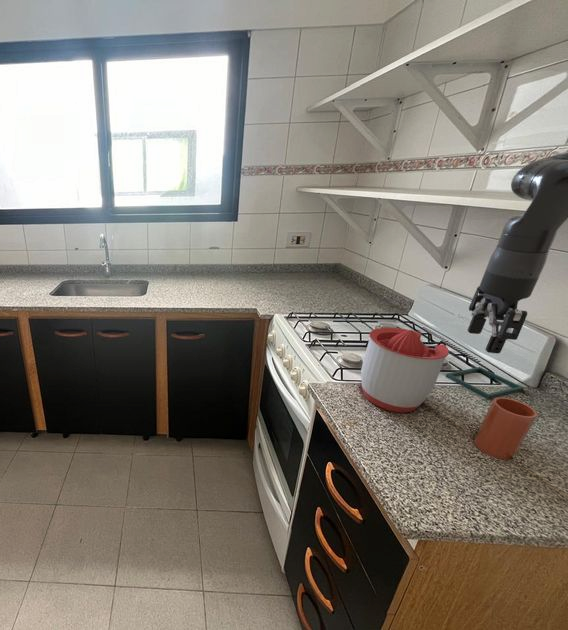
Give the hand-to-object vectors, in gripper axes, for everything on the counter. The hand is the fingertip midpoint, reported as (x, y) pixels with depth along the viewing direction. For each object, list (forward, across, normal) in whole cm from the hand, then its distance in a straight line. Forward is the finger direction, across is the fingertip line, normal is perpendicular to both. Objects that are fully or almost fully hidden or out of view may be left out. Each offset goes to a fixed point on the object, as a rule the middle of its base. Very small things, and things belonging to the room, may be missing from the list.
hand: (482, 342), depth 74 cm
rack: (+22, +16, -12) cm, 29 cm away
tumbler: (+20, -10, -4) cm, 23 cm away
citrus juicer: (+20, +2, +12) cm, 24 cm away
